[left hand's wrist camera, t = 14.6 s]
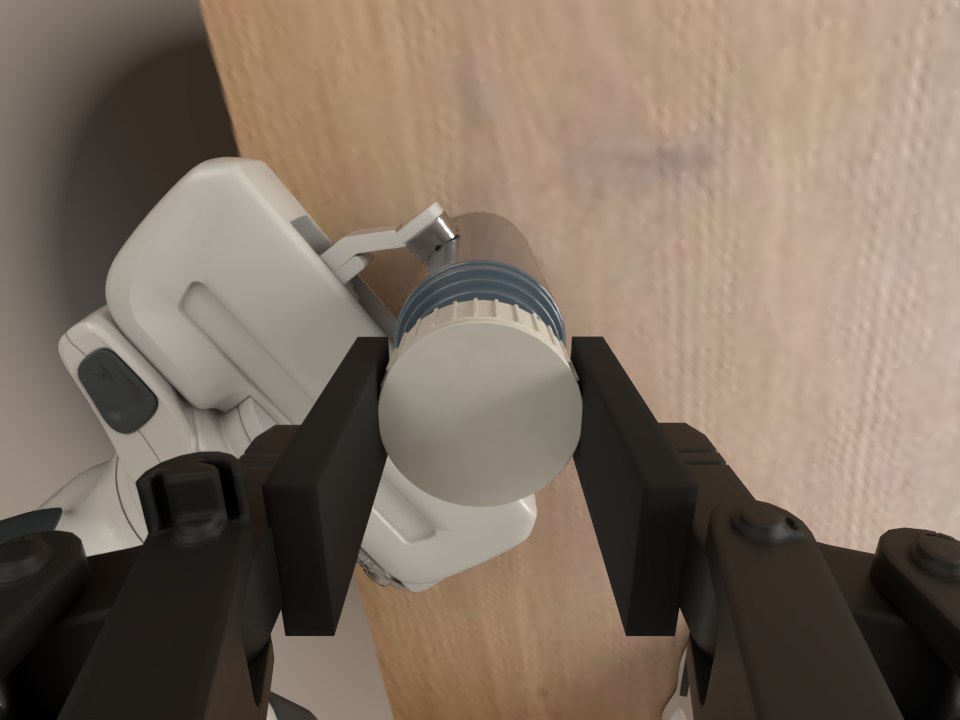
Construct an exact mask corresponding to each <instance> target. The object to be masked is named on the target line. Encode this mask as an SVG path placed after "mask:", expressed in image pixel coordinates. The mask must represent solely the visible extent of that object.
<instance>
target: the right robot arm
mask: <svg viewBox="0 0 960 720" xmlns="http://www.w3.org/2000/svg"><path fill="white" fill-rule="evenodd" d="M457 231H458V229H457V227H456V226H455V224H454V223H453V222H452V220H451V219H450V218H449V216H448V215H447V214H446V212H445V211H444V209H443V208H442V207H441V205H440V204H439V203H438V202H437V200H436V201H434V202H433V203H431V204H430V205H429V206H427V207H426V208H425V209H424V210H422V211H421V212H420V213H419V214H417V215H416V216H415V217H414V218H412V219H411V220H410V221H409V222H407V223H406V224H405V225H404V226H402V225H401V224H397V225H389V226H381V227H373V228H365V229H357V230H353V231H352V232H350V233H349V234H347V235H346V236H344V237H343V238H342V239H340V240H339V241H338V242H337V243H335V244H333V242H332V241H331V240H330V239H329V238H328V236H327V235H326V234H325V233H324V232H323V231H322V229H321V228H320V227H319V226H318V225H317V223H316V222H315V221H314V220H313V219H312V217H311V216H310V215H309V214H308V213H307V212H306V210H305V209H304V208H303V207H302V206H301V204H300V203H299V202H298V201H297V200H296V198H295V197H294V196H293V195H292V194H291V193H290V191H289V190H288V189H287V188H286V187H285V185H284V184H283V183H282V182H281V181H280V179H279V178H278V177H277V176H276V175H275V173H274V172H273V171H272V170H271V169H270V168H269V167H268V165H266V164H265V163H264V162H262V161H260V160H255V159H247V158H239V157H221V158H214V159H210V160H206V161H204V162H202V163H200V164H199V165H197V166H196V167H194V168H193V169H191V170H190V171H189V172H188V173H187V174H186V175H185V176H184V177H183V178H181V179H180V180H179V181H178V182H177V183H176V185H175V186H173V187H172V188H171V189H170V190H169V192H168V193H167V194H166V195H165V196H164V197H163V198H162V199H161V200H160V201H159V202H158V203H157V205H156V206H155V207H154V208H153V209H152V210H151V211H150V213H149V214H148V215H147V216H146V217H145V218H144V220H143V221H142V222H141V223H140V225H139V226H138V227H137V228H136V229H135V231H134V232H133V233H132V235H131V236H130V237H129V239H128V240H127V241H126V243H125V244H124V245H123V247H122V248H121V250H120V251H119V253H118V254H117V256H116V257H115V259H114V261H113V263H112V265H111V267H110V269H109V272H108V276H107V280H106V287H105V295H106V302H107V304H106V305H105V306H103V307H101V308H100V309H98V310H96V311H94V312H93V313H91V314H90V315H88V316H87V317H85V318H84V319H82V320H81V321H80V322H78V323H77V324H75V325H74V326H73V327H71V328H70V329H69V330H68V331H67V332H66V333H65V334H64V335H63V336H62V337H61V339H60V341H59V344H58V350H59V354H60V357H61V359H62V361H63V363H64V365H65V367H66V368H67V370H68V371H69V373H70V374H71V376H72V377H73V379H74V381H75V382H76V383H77V385H78V387H79V388H80V390H81V391H82V393H83V394H84V396H85V398H86V399H87V401H88V402H89V404H90V405H91V407H92V409H93V410H94V412H95V414H96V415H97V417H98V419H99V420H100V422H101V424H102V426H103V428H104V429H105V431H106V433H107V435H108V437H109V439H110V440H111V442H112V444H113V446H114V448H115V450H116V451H115V453H114V455H113V457H112V459H111V460H110V461H107V462H104V463H102V464H99V465H96V466H94V467H92V468H90V469H88V470H86V471H84V472H82V473H81V474H79V475H78V476H76V477H75V478H73V479H72V480H71V481H70V482H68V483H67V484H66V485H65V486H63V487H62V488H61V489H60V490H59V491H57V492H56V493H55V494H54V495H53V496H51V497H50V498H49V499H48V500H47V501H46V502H45V503H43V504H42V505H41V506H40V507H39V508H38V509H37V510H36V511H31V512H27V513H24V514H20V515H17V516H14V517H11V518H7V519H4V520H1V521H0V545H1V544H3V543H5V542H7V541H8V540H10V539H13V538H16V537H19V536H22V535H23V536H25V535H26V534H30V533H35V532H45V531H54V530H59V531H66V532H72V533H74V534H75V535H76V536H78V537H79V538H80V539H81V540H82V544H83V547H84V550H85V554H86V557H87V556H92V555H97V554H102V553H107V552H112V551H117V550H122V549H127V548H132V547H135V546H139V545H143V543H144V541H145V539H146V537H147V535H148V531H147V527H146V523H145V519H144V515H143V511H142V507H141V503H140V499H139V495H138V491H137V487H136V483H135V482H136V481H137V480H138V479H139V477H140V476H141V475H142V474H143V473H144V472H145V471H147V470H149V469H150V468H152V467H154V466H156V465H157V464H159V463H161V462H163V461H166V460H169V459H172V458H174V457H177V456H180V455H185V454H190V453H195V452H202V451H220V452H224V453H228V454H232V455H234V456H235V457H236V458H238V459H239V458H240V457H241V455H244V451H245V450H246V449H247V447H248V446H249V445H250V444H251V442H252V441H253V440H254V438H255V437H256V436H258V435H260V434H261V433H263V432H264V431H266V430H268V429H269V428H271V427H272V426H274V425H301V424H302V422H303V421H304V419H305V418H306V416H307V415H308V413H309V412H310V410H311V408H312V407H313V405H314V404H315V402H316V401H317V399H318V398H319V396H320V394H321V393H322V391H323V390H324V388H325V387H326V385H327V384H328V382H329V380H330V379H331V377H332V376H333V374H334V373H335V371H336V370H337V368H338V366H339V365H340V363H341V362H342V360H343V359H344V357H345V356H346V354H347V352H348V351H349V349H350V348H351V346H352V345H353V343H354V342H355V340H356V338H357V337H388V342H389V358H391V356H392V354H393V351H394V349H395V342H394V341H395V329H396V324H397V319H396V317H395V316H394V315H393V314H392V313H391V311H390V310H389V309H388V308H387V307H386V305H385V304H384V303H383V302H382V301H381V299H380V298H379V297H378V296H377V295H376V294H375V292H374V291H373V290H372V289H371V288H370V286H369V285H368V284H367V283H366V282H365V280H364V279H363V278H362V277H361V276H360V275H359V272H360V271H362V270H363V269H364V268H365V267H366V266H367V265H368V264H369V263H370V262H371V261H372V259H373V258H374V254H373V253H372V252H373V251H380V250H387V249H394V248H401V247H407V246H408V247H409V249H410V250H411V251H412V252H413V253H414V255H415V256H416V257H417V258H418V259H419V261H420V262H423V261H424V260H425V259H427V258H428V257H429V256H430V255H431V254H432V253H433V252H434V251H435V250H436V247H437V246H438V245H444V244H445V243H447V242H449V241H450V240H451V239H452V238H453V237H454V236H455V235H456V234H457V233H458V232H457ZM536 517H537V508H536V499H535V494H532V495H530V496H528V497H526V498H523V499H520V500H518V501H515V502H512V503H508V504H504V505H498V506H491V507H472V506H463V505H458V504H452V503H449V502H446V501H443V500H440V499H438V498H435V497H433V496H431V495H429V494H427V493H425V492H424V491H422V490H420V489H419V488H417V487H416V486H415V485H413V484H412V483H411V482H410V481H408V480H407V479H406V478H405V477H404V476H403V475H402V474H401V473H400V472H399V470H398V469H397V468H396V466H395V465H394V464H393V463H392V461H391V459H390V457H389V456H388V457H387V460H386V464H385V467H384V470H383V474H382V477H381V480H380V484H379V487H378V490H377V494H376V497H375V501H374V504H373V507H372V511H371V514H370V517H369V521H368V524H367V527H366V531H365V534H364V537H363V541H362V544H361V548H360V551H359V554H358V558H357V561H356V562H357V563H358V564H360V565H361V566H362V567H363V568H364V571H365V573H366V574H367V575H368V576H369V577H370V578H371V579H372V580H373V581H375V582H376V583H378V584H379V585H381V586H387V585H389V584H390V585H392V586H393V587H396V588H399V589H402V590H409V591H411V592H414V593H417V592H421V591H424V590H426V589H428V588H430V587H432V586H433V585H435V584H437V583H438V582H440V581H441V580H443V579H445V578H447V577H450V576H452V575H455V574H458V573H460V572H463V571H465V570H467V569H470V568H472V567H474V566H477V565H479V564H481V563H483V562H485V561H487V560H490V559H492V558H494V557H496V556H498V555H500V554H502V553H504V552H506V551H508V550H510V549H512V548H513V547H515V546H517V545H519V544H520V543H522V542H523V541H525V540H526V539H527V538H528V537H529V535H530V534H531V531H532V529H533V526H534V523H535V520H536ZM686 651H687V647H686V649H685V651H684V653H683V656H682V658H681V662H680V666H679V673H678V684H677V688H676V692H675V693H674V695H673V696H672V698H671V699H670V701H669V702H668V704H667V705H666V707H665V709H664V711H663V713H662V717H661V718H662V720H694V719H693V711H692V703H691V695H690V687H689V689H688V695H687V697H684V696H679V694H680V687H681V680H682V674H683V669H684V663H685V657H686ZM267 720H317V718H316V717H315V716H314V715H313V714H312V713H311V712H310V711H309V710H307V709H305V708H304V707H302V706H299V705H297V704H295V703H293V702H291V701H289V700H287V699H285V698H283V697H281V696H279V695H277V694H275V693H273V692H271V691H270V696H269V704H268V712H267Z"/></svg>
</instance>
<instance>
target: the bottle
mask: <svg viewBox="0 0 960 720" xmlns="http://www.w3.org/2000/svg"><path fill="white" fill-rule="evenodd" d="M452 222H453V223H454V224H455V226H456V227H457V229H458V231H457V232H458V233H457V234H456V235H455V236H454V237H453V238H452V239H451V240H450V241H449V242H447V243H445V244H444V245H438V246H437V247H436V250H435V251H434V252H433V253H432V254H431V255H430V256H429V257H428V258H427V259H425V261H424V263H423V265H422V267H421V269H420V271H419V274H418V276H417V278H416V280H415V282H414V284H413V286H412V288H411V290H410V292H409V294H408V296H407V298H406V301H405V303H404V305H403V307H402V309H401V311H400V314H399V317H398V320H397V324H396V329H395V341H394V342H395V348H397V349H398V347H399V345H400V342H401V340H402V338H403V335H404V333H405V332H407V333H408V332H409V331H410V330H411V329H412V328H413V327H414V326H415V325H416V323H417V320H418V319H419V318H420V319H421V320H422V319H423V318H425V317H426V316H428V315H429V314H431V313H433V312H434V309H435V308H438V310H439V309H441V308H443V307H445V306H448V305H452V304H453V302H454V301H457V303H458V302H464V301H471V300H474V298H477V299H478V300H488V301H494V300H495V299H498V302H502V303H506V304H510V305H512V306H514V305H515V304H516V305H518V307H519V308H520V309H522V310H524V311H526V312H528V313H530V314H533V313H534V314H536V316H537V319H539V320H540V321H541V322H543V323H544V324H545V325H546V326H548V325H549V326H550V327H551V329H552V331H553V334H554V335H555V336H556V337H557V339H558V341H560V340H561V341H562V342H563V344H564V347H565V349H566V334H565V326H564V322H563V318H562V315H561V313H560V310H559V308H558V306H557V303H556V301H555V299H554V297H553V295H552V293H551V291H550V289H549V287H548V285H547V283H546V281H545V279H544V277H543V275H542V273H541V271H540V269H539V267H538V265H537V263H536V261H535V258H534V256H533V254H532V252H531V250H530V248H529V246H528V244H527V242H526V240H525V238H524V237H523V235H522V234H521V232H520V231H519V230H518V229H517V228H516V227H515V226H514V225H513V224H512V223H511V222H509V221H508V220H506V219H504V218H503V217H500V216H498V215H495V214H491V213H484V212H475V213H469V214H465V215H462V216H460V217H458V218H456V219H454V220H452Z"/></svg>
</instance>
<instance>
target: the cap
mask: <svg viewBox="0 0 960 720" xmlns="http://www.w3.org/2000/svg"><path fill="white" fill-rule="evenodd" d="M386 370H387V371H386V373H385V375H384V378H383V380H382V383H381V385H380V389H381V391H380V395H379V400H378V415H379V429H380V437H381V440H382V443H383V445H384V448H385V450H386V452H387V454H388V456H389V457H390V459H391V461H392V463H393V464H394V465H395V466H396V468H397V469H398V470H399V472H400V473H401V474H402V475H403V476H404V477H405V478H406V479H407V480H408V481H410V482H411V483H412V484H413V485H415V486H416V487H417V488H419V489H420V490H422V491H424V492H425V493H427V494H429V495H431V496H433V497H435V498H438V499H440V500H443V501H446V502H449V503H452V504H458V505H463V506H472V507H491V506H498V505H504V504H508V503H512V502H515V501H518V500H520V499H523V498H526V497H528V496H530V495H532V494H534V493H535V492H537V491H539V490H540V489H542V488H543V487H545V486H546V485H548V484H549V483H550V482H551V481H552V480H553V479H554V478H556V477H557V476H558V475H559V473H560V472H561V471H562V470H563V469H564V468H565V466H566V465H567V463H568V462H569V461H570V459H571V458H572V456H573V454H574V452H575V450H576V448H577V445H578V442H579V439H580V434H581V420H582V405H583V400H582V395H581V392H580V388H579V385H578V383H577V381H579V378H578V375H577V373H576V371H575V368H574V366H573V364H572V361H571V359H570V357H569V356H568V354H567V351H566V349H565V347H564V344H563V342H562V341H561V340H560V341H558V339H557V337H556V336H555V335H554V334H553V331H552V329H551V327H550V326H549V325H548V326H546V325H545V324H544V323H543V322H541V321H540V320H539V319H537V316H536V314H534V313H533V314H530V313H528V312H526V311H524V310H522V309H520V308H519V307H518V305H516V304H515V305H514V306H512V305H510V304H506V303H502V302H498V299H495V300H494V301H488V300H478V299H477V298H474V300H471V301H464V302H458V303H457V301H454V302H453V304H452V305H448V306H445V307H443V308H441V309H439V310H438V308H435V309H434V312H433V313H431V314H429V315H428V316H426V317H425V318H423V319H422V320H421V319H420V318H419V319H418V320H417V323H416V325H415V326H414V327H413V328H412V329H411V330H410V331H409V332H408V333H407V332H405V333H404V335H403V338H402V340H401V342H400V345H399V347H398V349H397V348H395V349H394V351H393V354H392V356H391V358H390V361H389V363H388V365H387V368H386Z"/></svg>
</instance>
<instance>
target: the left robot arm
mask: <svg viewBox="0 0 960 720" xmlns="http://www.w3.org/2000/svg"><path fill="white" fill-rule="evenodd" d="M389 361H390V358H389V342H388V337H357V338H356V340H355V342H354V343H353V345H352V346H351V348H350V349H349V351H348V352H347V354H346V356H345V357H344V359H343V360H342V362H341V363H340V365H339V366H338V368H337V370H336V371H335V373H334V374H333V376H332V377H331V379H330V380H329V382H328V384H327V385H326V387H325V388H324V390H323V391H322V393H321V394H320V396H319V398H318V399H317V401H316V402H315V404H314V405H313V407H312V408H311V410H310V412H309V413H308V415H307V416H306V418H305V419H304V421H303V422H302V424H301V425H274V426H272V427H271V428H269V429H268V430H266V431H264V432H263V433H261V434H260V435H258V436H256V437H255V438H254V440H253V441H252V442H251V444H250V445H249V446H248V447H247V449H246V450H245V451H244V455H241V457H240V458H239V459H238V458H236V457H235V456H234V455H232V454H228V453H224V452H220V451H202V452H195V453H190V454H185V455H180V456H177V457H174V458H172V459H169V460H166V461H163V462H161V463H159V464H157V465H156V466H154V467H152V468H150V469H149V470H147V471H145V472H144V473H143V474H142V475H141V476H140V477H139V479H138V480H137V481H136V482H135V483H136V487H137V491H138V495H139V499H140V503H141V507H142V511H143V515H144V519H145V523H146V527H147V531H148V535H147V537H146V539H145V541H144V543H143V545H139V546H135V547H132V548H127V549H122V550H117V551H112V552H107V553H102V554H97V555H92V556H87V557H86V554H85V550H84V547H83V544H82V540H81V539H80V538H79V537H78V536H76V535H75V534H74V533H72V532H66V531H59V530H54V531H45V532H35V533H30V534H26V535H25V536H23V535H22V536H19V537H16V538H13V539H10V540H8V541H7V542H5V543H3V544H1V545H0V720H267V712H268V704H269V696H270V688H271V681H272V673H273V665H274V653H273V646H272V640H271V632H272V629H273V627H274V625H275V622H276V620H277V618H278V615H279V613H280V611H281V610H282V616H283V623H284V629H285V635H286V636H334V635H335V632H336V628H337V625H338V621H339V618H340V615H341V611H342V608H343V605H344V601H345V598H346V595H347V591H348V588H349V585H350V581H351V578H352V574H353V571H354V568H355V564H356V561H357V558H358V554H359V551H360V548H361V544H362V541H363V537H364V534H365V531H366V527H367V524H368V521H369V517H370V514H371V511H372V507H373V504H374V501H375V497H376V494H377V490H378V487H379V484H380V480H381V477H382V474H383V470H384V467H385V464H386V460H387V457H388V454H387V452H386V450H385V448H384V445H383V443H382V440H381V437H380V429H379V415H378V400H379V395H380V391H381V389H380V385H381V383H382V380H383V378H384V375H385V373H386V371H387V370H386V368H387V365H388V363H389ZM571 361H572V364H573V366H574V368H575V371H576V373H577V375H578V378H579V381H577V383H578V385H579V388H580V392H581V395H582V400H583V405H582V420H581V434H580V439H579V442H578V445H577V448H576V450H575V452H574V454H573V459H574V462H575V466H576V469H577V472H578V476H579V479H580V483H581V486H582V489H583V493H584V496H585V499H586V503H587V506H588V509H589V513H590V516H591V519H592V523H593V526H594V530H595V533H596V536H597V540H598V543H599V546H600V550H601V553H602V556H603V560H604V563H605V566H606V570H607V573H608V577H609V580H610V583H611V587H612V590H613V593H614V597H615V600H616V603H617V607H618V610H619V614H620V617H621V620H622V624H623V627H624V630H625V634H626V636H675V631H676V625H677V619H678V613H679V607H680V609H681V611H682V614H683V616H684V618H685V621H686V623H687V625H688V628H689V630H690V634H689V640H688V645H687V651H686V657H685V663H684V669H683V674H682V680H681V687H680V694H679V696H684V697H687V695H688V689H689V687H690V695H691V703H692V711H693V719H694V720H960V541H958V540H956V539H954V538H953V537H951V536H948V535H945V534H942V533H939V534H938V533H936V532H934V531H929V530H922V529H913V528H898V529H892V530H888V531H887V532H885V533H884V534H883V535H882V536H881V537H880V539H879V542H878V545H877V549H876V552H875V554H871V553H866V552H861V551H856V550H851V549H846V548H841V547H836V546H831V545H827V544H823V543H819V542H816V540H815V538H814V536H813V534H812V532H811V531H810V530H809V529H808V527H807V526H806V525H805V524H804V522H803V521H802V520H800V519H799V518H797V517H796V516H794V515H793V514H791V513H790V512H788V511H787V510H784V509H782V508H779V507H777V506H775V505H772V504H770V503H766V502H761V501H757V500H755V498H754V497H753V496H752V495H751V493H750V492H749V491H748V489H747V488H746V487H745V486H744V484H743V483H742V482H741V481H740V479H739V478H738V477H737V475H736V474H735V473H734V472H733V470H732V469H731V468H730V466H729V465H726V461H725V460H724V459H723V457H722V456H721V455H720V454H719V453H717V450H716V448H715V447H714V446H713V445H712V443H711V442H710V441H709V439H708V438H707V437H706V436H705V435H704V434H702V433H701V432H699V431H698V430H696V429H694V428H693V427H691V426H690V425H688V424H686V423H658V422H657V420H656V419H655V417H654V416H653V414H652V413H651V411H650V409H649V408H648V406H647V405H646V403H645V402H644V400H643V399H642V397H641V395H640V394H639V392H638V391H637V389H636V388H635V386H634V385H633V383H632V381H631V380H630V378H629V377H628V375H627V374H626V372H625V371H624V369H623V367H622V366H621V364H620V363H619V361H618V360H617V358H616V357H615V355H614V353H613V352H612V350H611V349H610V347H609V346H608V344H607V343H606V341H605V339H604V338H603V337H572V348H571Z"/></svg>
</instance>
